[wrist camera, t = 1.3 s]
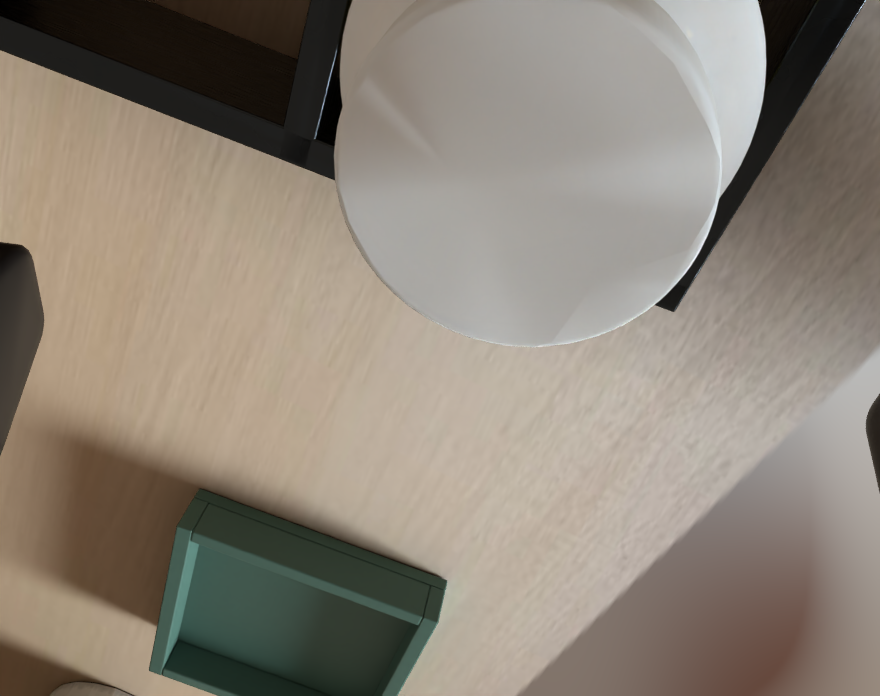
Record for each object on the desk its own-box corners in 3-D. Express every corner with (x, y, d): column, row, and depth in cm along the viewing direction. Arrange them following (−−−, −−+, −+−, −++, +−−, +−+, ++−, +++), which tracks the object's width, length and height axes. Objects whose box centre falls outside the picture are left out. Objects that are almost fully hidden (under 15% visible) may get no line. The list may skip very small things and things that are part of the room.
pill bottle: (482, -225, 17) (306, -224, 8) (774, -123, 17) (945, -1, 8) (407, 73, 21) (229, 312, 12) (645, 156, 21) (658, 460, 12)
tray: (447, 580, 32) (438, 623, 30) (378, 709, 38) (367, 750, 36) (199, 487, 32) (176, 526, 30) (168, 632, 38) (148, 671, 36)
